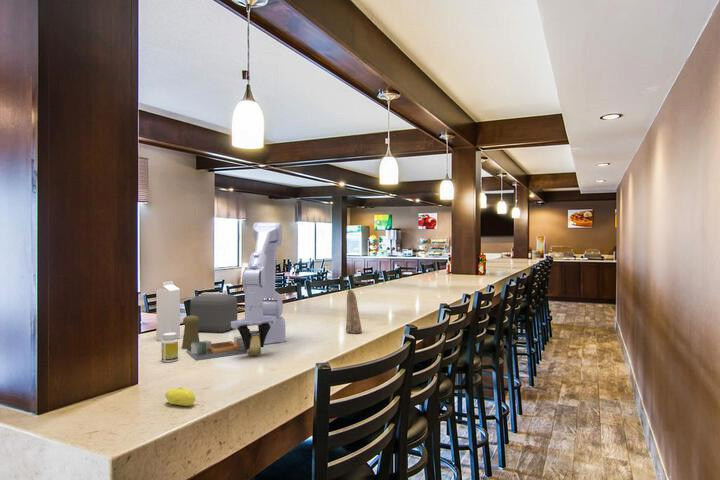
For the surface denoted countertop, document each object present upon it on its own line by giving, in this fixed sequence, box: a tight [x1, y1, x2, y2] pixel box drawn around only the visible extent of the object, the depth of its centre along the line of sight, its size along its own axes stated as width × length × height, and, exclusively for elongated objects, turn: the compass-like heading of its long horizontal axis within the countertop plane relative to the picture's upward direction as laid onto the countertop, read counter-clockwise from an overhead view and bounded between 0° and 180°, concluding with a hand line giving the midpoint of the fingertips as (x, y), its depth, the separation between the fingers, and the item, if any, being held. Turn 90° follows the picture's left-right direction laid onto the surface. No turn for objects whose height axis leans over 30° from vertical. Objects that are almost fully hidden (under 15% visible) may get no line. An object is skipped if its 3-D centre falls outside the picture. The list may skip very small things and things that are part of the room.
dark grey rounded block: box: [189, 291, 238, 333], centre depth 192 cm, size 16×11×16 cm
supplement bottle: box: [161, 333, 179, 363], centre depth 144 cm, size 5×5×8 cm
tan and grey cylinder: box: [246, 330, 262, 356], centre depth 150 cm, size 5×5×7 cm
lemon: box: [164, 387, 196, 407], centre depth 106 cm, size 4×8×4 cm, turn 64°
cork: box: [181, 315, 200, 350], centre depth 162 cm, size 6×6×11 cm
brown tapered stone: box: [345, 289, 362, 335], centre depth 186 cm, size 6×18×6 cm
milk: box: [155, 280, 181, 342], centre depth 175 cm, size 6×6×22 cm
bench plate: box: [186, 335, 247, 361], centre depth 155 cm, size 20×13×5 cm, turn 124°
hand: (254, 347), depth 150 cm, fingers closed on tan and grey cylinder, 4 cm apart
